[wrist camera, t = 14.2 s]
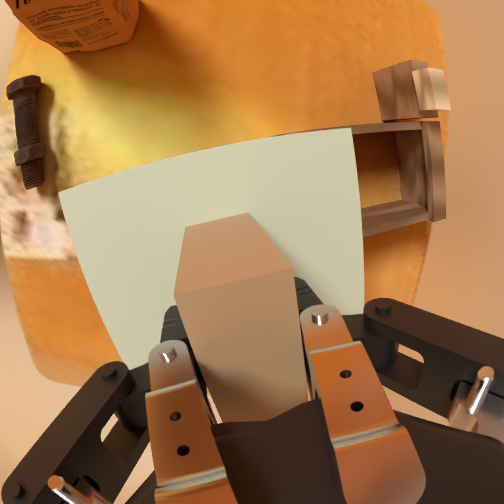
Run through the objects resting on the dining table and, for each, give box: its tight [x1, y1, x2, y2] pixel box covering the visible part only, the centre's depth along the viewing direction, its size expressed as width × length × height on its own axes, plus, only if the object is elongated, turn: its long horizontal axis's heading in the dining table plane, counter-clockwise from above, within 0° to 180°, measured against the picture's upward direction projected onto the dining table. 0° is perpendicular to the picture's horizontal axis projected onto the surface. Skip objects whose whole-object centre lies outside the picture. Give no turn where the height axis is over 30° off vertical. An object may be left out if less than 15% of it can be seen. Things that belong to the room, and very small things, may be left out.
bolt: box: [7, 75, 45, 190], centre depth 27 cm, size 6×5×15 cm
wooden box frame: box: [272, 60, 446, 238], centre depth 33 cm, size 21×21×9 cm
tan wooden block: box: [412, 68, 451, 111], centre depth 26 cm, size 5×3×3 cm, turn 12°
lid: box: [58, 128, 364, 423], centre depth 12 cm, size 13×15×9 cm
